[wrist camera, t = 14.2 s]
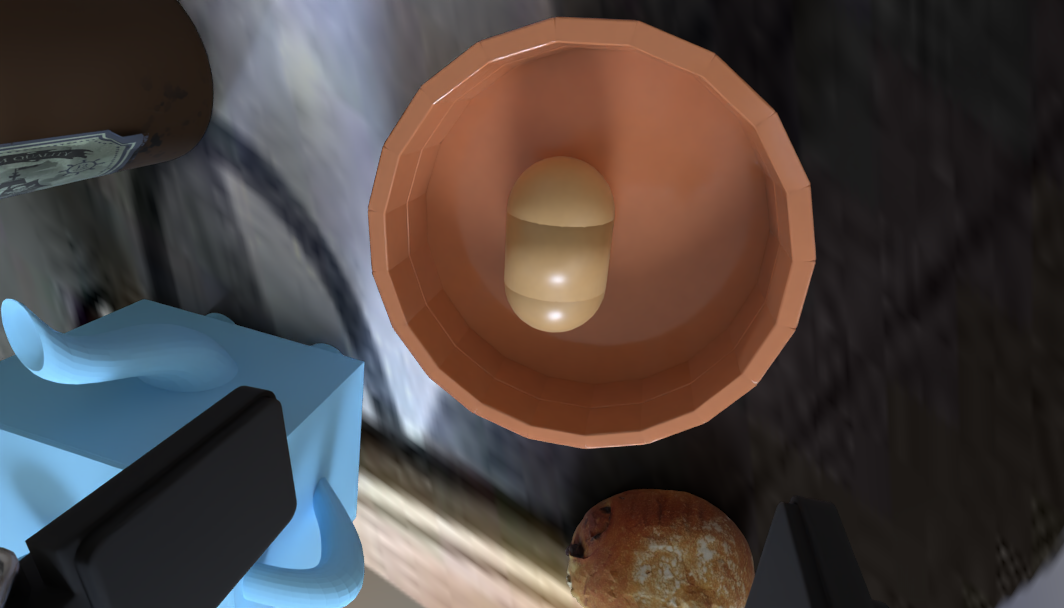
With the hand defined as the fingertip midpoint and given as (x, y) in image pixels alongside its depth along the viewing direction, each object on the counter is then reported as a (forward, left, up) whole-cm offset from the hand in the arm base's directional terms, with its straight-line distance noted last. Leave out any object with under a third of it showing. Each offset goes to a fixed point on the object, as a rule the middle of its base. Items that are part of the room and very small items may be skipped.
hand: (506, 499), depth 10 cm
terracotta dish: (+1, 0, -18) cm, 18 cm away
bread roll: (-5, +19, -18) cm, 27 cm away
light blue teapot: (+21, +13, -18) cm, 30 cm away
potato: (+1, 0, -17) cm, 17 cm away
